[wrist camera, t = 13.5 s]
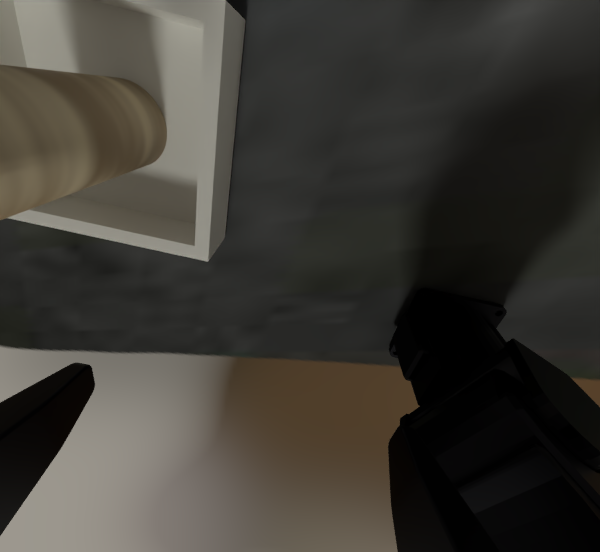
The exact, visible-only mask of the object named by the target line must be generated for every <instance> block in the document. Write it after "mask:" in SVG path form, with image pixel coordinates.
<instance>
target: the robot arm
mask: <svg viewBox="0 0 600 552" xmlns="http://www.w3.org/2000/svg"><path fill="white" fill-rule="evenodd" d="M424 294H427V296H425V297H422V296H423V295H424ZM497 311H499V312H497ZM496 312H497V313H496ZM505 315H506V309H505V308H504V307H503V306H502V305H500V304H495V303H491V302H486V301H482V300H477V299H473V298H468V297H464V296H459V295H454V294H450V293H445V292H441V291H436V290H432V289H427V288H423V289H420V290H419V291H418V292H417V294H416V296H415V298H414V300H413V302H412V304H411V306H410V308H409V310H408V312H406V313H405V314H404V315H403V317H402V319H401V321H400V323H399V325H398V327H397V329H396V331H395V333H394V335H393V337H392V339H393V342H392V344H391V346H390V348H389V352H390V355H391V356H392V357H395V358H398V359H399V363H400V366H401V369H402V372H403V376H404V378H405V379H406V380H408V381H411V384H412V387H413V390H414V394H415V397H416V400H417V403H418V405H419V406H420V407H418V408H417V409H416V410H414V411H413V412H411V413H410V414H406V415H404V416H403V417H401V418H400V426H399V427H398V428H397V430H396V431H395V433H394V434H393V436H392V437H391V439H390V441H389V445H388V451H389V452H388V454H389V474H390V493H391V507H392V515H393V522H394V529H395V536H396V543H397V549H398V552H600V407H599V406H598V405H597V404H596V403H595V402H594V401H593V400H592V399H591V398H590V397H589V396H588V395H587V394H586V393H585V392H584V391H583V390H582V389H581V388H580V387H579V386H578V385H577V384H576V383H575V382H574V381H573V380H572V379H571V378H570V377H569V376H568V375H567V374H566V373H564V372H563V371H561V370H560V369H558V368H557V367H555V366H554V365H552V364H551V363H549V362H548V361H546V360H545V359H543V358H542V357H540V356H539V355H538V354H536V353H535V352H533V351H532V350H530V349H529V348H527V347H526V346H524V345H523V344H521V343H520V342H518V341H517V340H515V339H514V338H513V339H511V340H510V341H508V342H506V341H505V340H504V339H503V337H502V336H501V335H500V333H499V332H498V331H497V329H496V327H497V326H498V325H499V323H500V322H501V320H502V319H503V318H504V316H505ZM394 351H396V352H394ZM94 387H95V382H94V377H93V372H92V368H91V366H90V365H87V364H82V363H73V364H71V365H69V366H67V367H65V368H63V369H61V370H59V371H58V372H56V373H54V374H52V375H51V376H48V377H47V378H45V379H43V380H41V381H39V382H37V383H36V384H34V385H32V386H30V387H28V388H26V389H24V390H23V391H21V392H19V393H17V394H15V395H13V396H12V397H10V398H8V399H6V400H4V401H3V402H1V403H0V535H1V534H2V533H3V531H4V530H5V528H6V527H7V525H8V524H9V522H10V521H11V520H12V518H13V517H14V515H15V514H16V512H17V511H18V509H19V508H20V507H21V505H22V504H23V502H24V501H25V499H26V498H27V497H28V495H29V494H30V492H31V491H32V489H33V488H34V487H35V485H36V484H37V482H38V481H39V479H40V478H41V476H42V475H43V474H44V472H45V471H46V469H47V468H48V466H49V465H50V463H51V462H52V461H53V459H54V458H55V456H56V455H57V453H58V452H59V450H60V449H61V447H62V446H63V444H64V442H65V441H66V439H67V437H68V435H69V434H70V432H71V430H72V428H73V427H74V425H75V423H76V421H77V419H78V418H79V416H80V414H81V412H82V411H83V409H84V407H85V405H86V403H87V402H88V400H89V398H90V396H91V395H92V393H93V390H94Z"/></svg>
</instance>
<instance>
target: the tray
mask: <svg viewBox="0 0 600 552" xmlns="http://www.w3.org/2000/svg"><path fill="white" fill-rule="evenodd" d="M245 22H246V20H245V19H244V18H243V17H242V16H241V15H240V14H239V13H238V12H237V11H236V10H235V9H234V8H233V7H232V6H231V5H230V4H229V3H228V2H227V1H226V0H0V65H9V66H18V67H27V68H36V69H45V70H54V71H63V72H72V73H81V74H90V75H99V76H108V77H117V78H123V79H127V80H130V81H132V82H134V83H136V84H138V85H139V86H141V87H142V88H143V89H144V90H146V91H147V92H148V93H149V94H150V95H151V96H152V98H153V99H154V100H155V101H156V103H157V104H158V106H159V108H160V110H161V112H162V114H163V117H164V119H165V123H166V129H167V141H166V146H165V149H164V151H163V153H162V155H161V156H160V157H159V158H158V159H157V160H156V161H155V162H153V163H152V164H150V165H147V166H144V167H142V168H139V169H136V170H134V171H131V172H128V173H126V174H123V175H120V176H118V177H115V178H112V179H110V180H107V181H104V182H102V183H99V184H96V185H94V186H91V187H88V188H85V189H83V190H80V191H77V192H75V193H72V194H69V195H67V196H64V197H61V198H59V199H56V200H53V201H51V202H48V203H45V204H43V205H40V206H37V207H35V208H32V209H29V210H27V211H24V212H21V213H19V214H16V215H13V216H10V217H8V218H10V219H15V220H19V221H24V222H29V223H33V224H38V225H42V226H47V227H52V228H56V229H61V230H65V231H70V232H75V233H79V234H84V235H88V236H93V237H98V238H102V239H107V240H111V241H116V242H120V243H125V244H130V245H134V246H139V247H143V248H148V249H153V250H157V251H162V252H166V253H171V254H176V255H180V256H185V257H189V258H194V259H199V260H203V261H209V260H210V258H211V257H212V255H213V254H214V252H215V251H216V250H217V248H218V247H219V245H220V244H221V242H222V241H223V240H224V238H225V231H226V221H227V210H228V200H229V189H230V179H231V168H232V158H233V147H234V137H235V126H236V116H237V105H238V95H239V84H240V74H241V64H242V53H243V43H244V32H245Z"/></svg>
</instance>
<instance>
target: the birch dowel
mask: <svg viewBox="0 0 600 552" xmlns="http://www.w3.org/2000/svg"><path fill="white" fill-rule="evenodd" d="M166 141H167V129H166V123H165V119H164V117H163V114H162V112H161V110H160V108H159V106H158V104H157V103H156V101H155V100H154V99H153V98H152V96H151V95H150V94H149V93H148V92H147V91H146V90H144V89H143V88H142V87H141V86H139V85H138V84H136V83H134V82H132V81H130V80H127V79H123V78H117V77H108V76H99V75H90V74H81V73H72V72H63V71H54V70H45V69H36V68H27V67H18V66H9V65H0V220H2V219H5V218H8V217H10V216H13V215H16V214H19V213H21V212H24V211H27V210H29V209H32V208H35V207H37V206H40V205H43V204H45V203H48V202H51V201H53V200H56V199H59V198H61V197H64V196H67V195H69V194H72V193H75V192H77V191H80V190H83V189H85V188H88V187H91V186H94V185H96V184H99V183H102V182H104V181H107V180H110V179H112V178H115V177H118V176H120V175H123V174H126V173H128V172H131V171H134V170H136V169H139V168H142V167H144V166H147V165H150V164H152V163H153V162H155V161H156V160H157V159H158V158H159V157H160V156H161V155H162V153H163V151H164V149H165V146H166Z"/></svg>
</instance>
